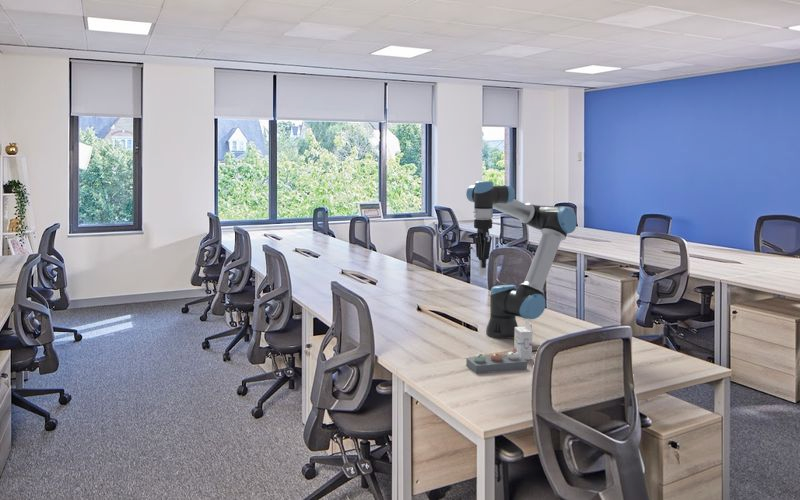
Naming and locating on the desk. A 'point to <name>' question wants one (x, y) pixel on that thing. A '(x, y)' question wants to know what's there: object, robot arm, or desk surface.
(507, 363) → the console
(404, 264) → the desk surface
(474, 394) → the desk surface
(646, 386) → the desk surface
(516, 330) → the ink cartridge box
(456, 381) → the desk surface
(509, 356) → the cream button
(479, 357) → the sage button
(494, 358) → the terracotta button
